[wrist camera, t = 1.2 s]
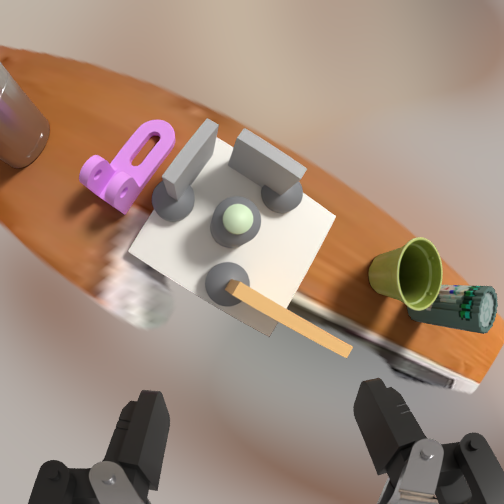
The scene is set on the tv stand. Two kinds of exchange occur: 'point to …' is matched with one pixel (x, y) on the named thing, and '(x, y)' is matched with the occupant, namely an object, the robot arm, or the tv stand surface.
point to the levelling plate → (254, 257)
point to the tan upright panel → (263, 304)
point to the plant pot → (409, 274)
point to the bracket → (128, 166)
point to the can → (461, 308)
